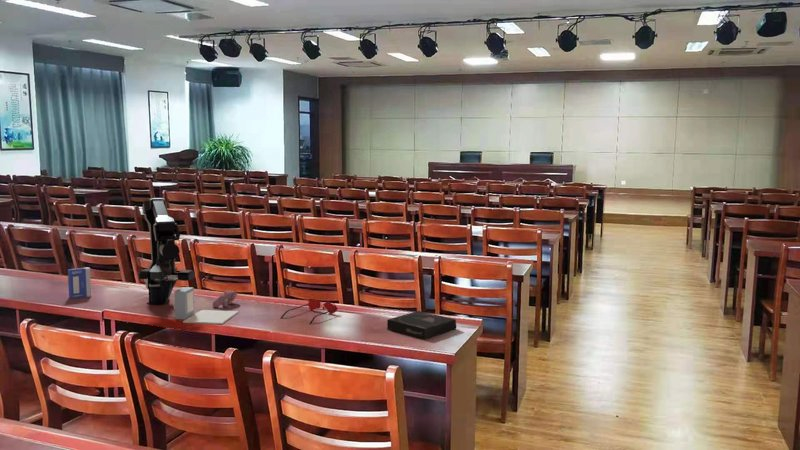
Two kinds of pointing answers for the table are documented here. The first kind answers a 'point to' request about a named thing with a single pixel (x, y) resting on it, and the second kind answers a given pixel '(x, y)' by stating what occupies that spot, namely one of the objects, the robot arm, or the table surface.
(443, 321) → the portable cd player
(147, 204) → the robot arm
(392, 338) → the table surface
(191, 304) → the slab
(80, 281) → the walkman
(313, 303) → the glasses
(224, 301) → the video game controller
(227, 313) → the mat
